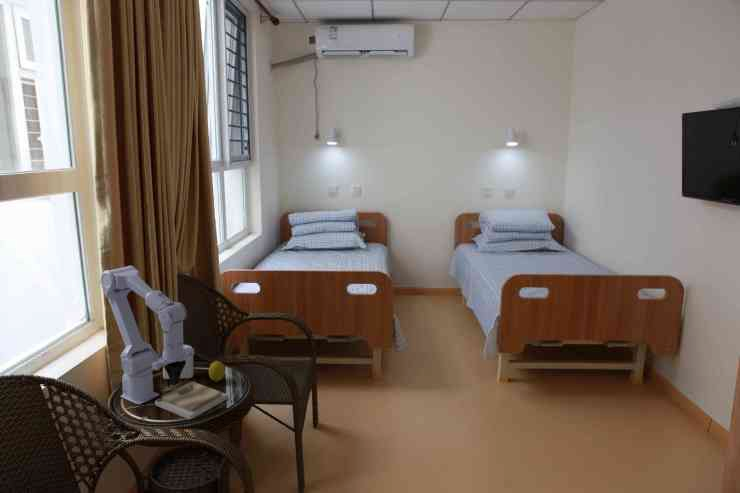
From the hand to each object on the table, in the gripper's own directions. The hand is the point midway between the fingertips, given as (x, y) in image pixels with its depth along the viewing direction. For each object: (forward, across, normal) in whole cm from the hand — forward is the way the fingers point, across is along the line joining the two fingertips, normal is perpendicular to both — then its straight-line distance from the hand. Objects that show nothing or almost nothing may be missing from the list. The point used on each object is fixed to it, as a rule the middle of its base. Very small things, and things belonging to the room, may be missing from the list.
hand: (174, 383), depth 159 cm
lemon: (+10, +22, +4) cm, 24 cm away
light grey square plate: (+9, +7, 0) cm, 12 cm away
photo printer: (+10, +17, +18) cm, 26 cm away
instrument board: (+8, +7, 0) cm, 10 cm away
